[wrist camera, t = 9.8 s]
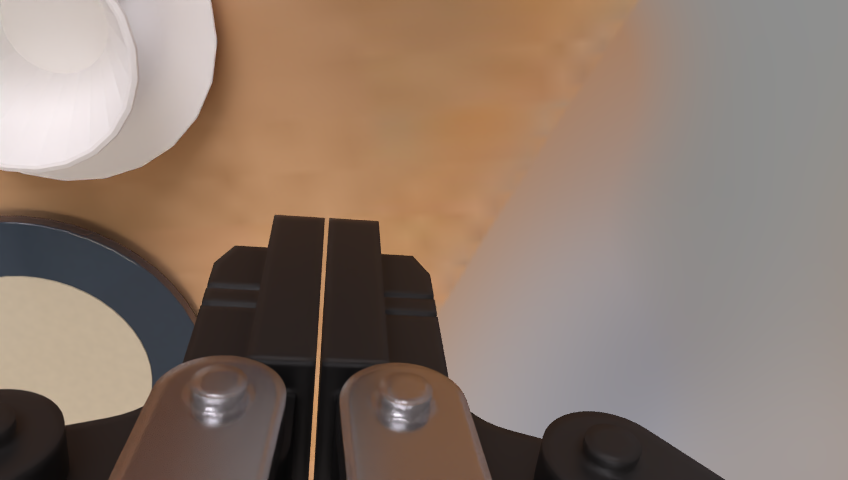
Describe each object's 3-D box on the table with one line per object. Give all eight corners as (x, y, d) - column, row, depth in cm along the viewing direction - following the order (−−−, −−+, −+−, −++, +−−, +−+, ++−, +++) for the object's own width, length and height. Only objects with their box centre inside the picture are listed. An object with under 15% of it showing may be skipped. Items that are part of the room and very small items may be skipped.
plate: (-95, 473, 39) (-109, 494, 38) (-166, 197, 32) (-187, 212, 31) (215, 479, 41) (211, 500, 39) (209, 219, 34) (204, 233, 33)
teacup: (284, -6, 30) (271, 24, 25) (121, 220, 34) (84, 283, 29) (-22, -242, 26) (-106, -259, 21) (-168, 46, 29) (-266, 86, 25)
